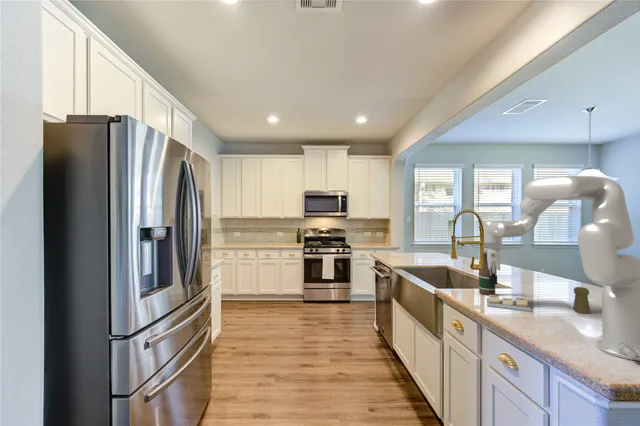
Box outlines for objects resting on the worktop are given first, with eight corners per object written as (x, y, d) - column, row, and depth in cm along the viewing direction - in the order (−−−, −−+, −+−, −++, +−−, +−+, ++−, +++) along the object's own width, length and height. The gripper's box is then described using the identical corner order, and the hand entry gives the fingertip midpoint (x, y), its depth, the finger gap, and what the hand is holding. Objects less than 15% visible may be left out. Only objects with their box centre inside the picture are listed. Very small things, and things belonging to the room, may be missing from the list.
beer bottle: (476, 295, 158) (475, 252, 158) (485, 293, 161) (484, 251, 161) (489, 299, 151) (488, 253, 151) (498, 297, 154) (498, 252, 154)
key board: (531, 315, 126) (531, 310, 126) (487, 309, 135) (487, 305, 135) (527, 306, 138) (527, 302, 138) (486, 301, 146) (486, 298, 146)
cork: (594, 314, 126) (593, 289, 126) (578, 313, 128) (578, 289, 128) (584, 309, 132) (584, 286, 132) (569, 309, 133) (569, 285, 134)
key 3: (499, 305, 136) (499, 297, 136) (489, 304, 138) (489, 296, 138) (498, 303, 140) (498, 295, 140) (489, 302, 142) (489, 294, 142)
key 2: (513, 308, 133) (512, 300, 133) (503, 307, 135) (502, 299, 135) (512, 306, 137) (512, 298, 137) (502, 305, 139) (502, 297, 139)
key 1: (527, 308, 131) (527, 300, 131) (516, 307, 133) (516, 299, 133) (526, 306, 134) (526, 298, 134) (515, 305, 136) (515, 297, 136)
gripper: (503, 248, 131) (503, 288, 131) (500, 245, 144) (501, 281, 144) (484, 247, 134) (484, 286, 135) (483, 244, 147) (484, 279, 148)
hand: (493, 283), depth 139 cm, fingers closed
